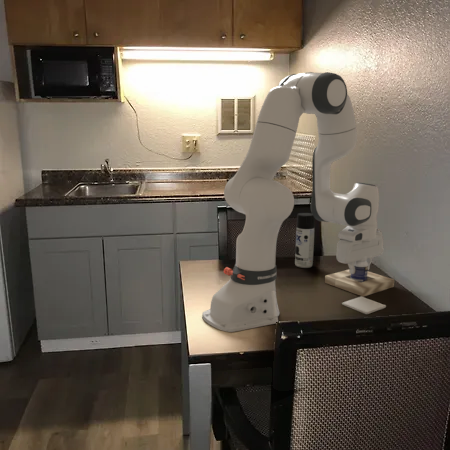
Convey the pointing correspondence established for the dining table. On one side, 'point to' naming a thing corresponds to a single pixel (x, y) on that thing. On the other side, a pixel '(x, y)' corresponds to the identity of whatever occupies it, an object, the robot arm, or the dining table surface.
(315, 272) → the dining table surface
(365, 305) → the pad
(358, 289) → the socket block
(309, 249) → the spray can
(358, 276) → the pill bottle
